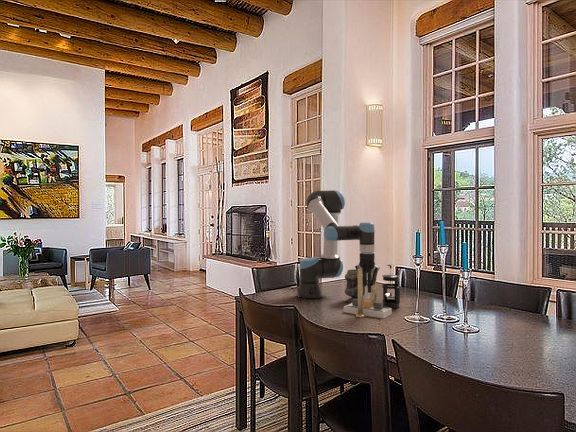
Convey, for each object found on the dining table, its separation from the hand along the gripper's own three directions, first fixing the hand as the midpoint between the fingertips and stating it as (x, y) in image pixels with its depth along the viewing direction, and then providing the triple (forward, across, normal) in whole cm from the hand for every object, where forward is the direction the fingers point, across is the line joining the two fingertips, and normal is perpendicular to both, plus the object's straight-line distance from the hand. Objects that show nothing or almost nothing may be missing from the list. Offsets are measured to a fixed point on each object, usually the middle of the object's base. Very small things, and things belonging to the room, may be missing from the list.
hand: (367, 298), depth 214 cm
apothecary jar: (+8, -18, +21) cm, 29 cm away
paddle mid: (+5, 0, 0) cm, 5 cm away
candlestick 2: (+8, 0, +8) cm, 11 cm away
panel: (+8, 0, 0) cm, 8 cm away
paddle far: (+5, +6, 0) cm, 8 cm away
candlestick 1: (+8, 0, -8) cm, 11 cm away
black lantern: (+8, +5, +19) cm, 21 cm away
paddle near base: (+5, -6, 0) cm, 8 cm away
